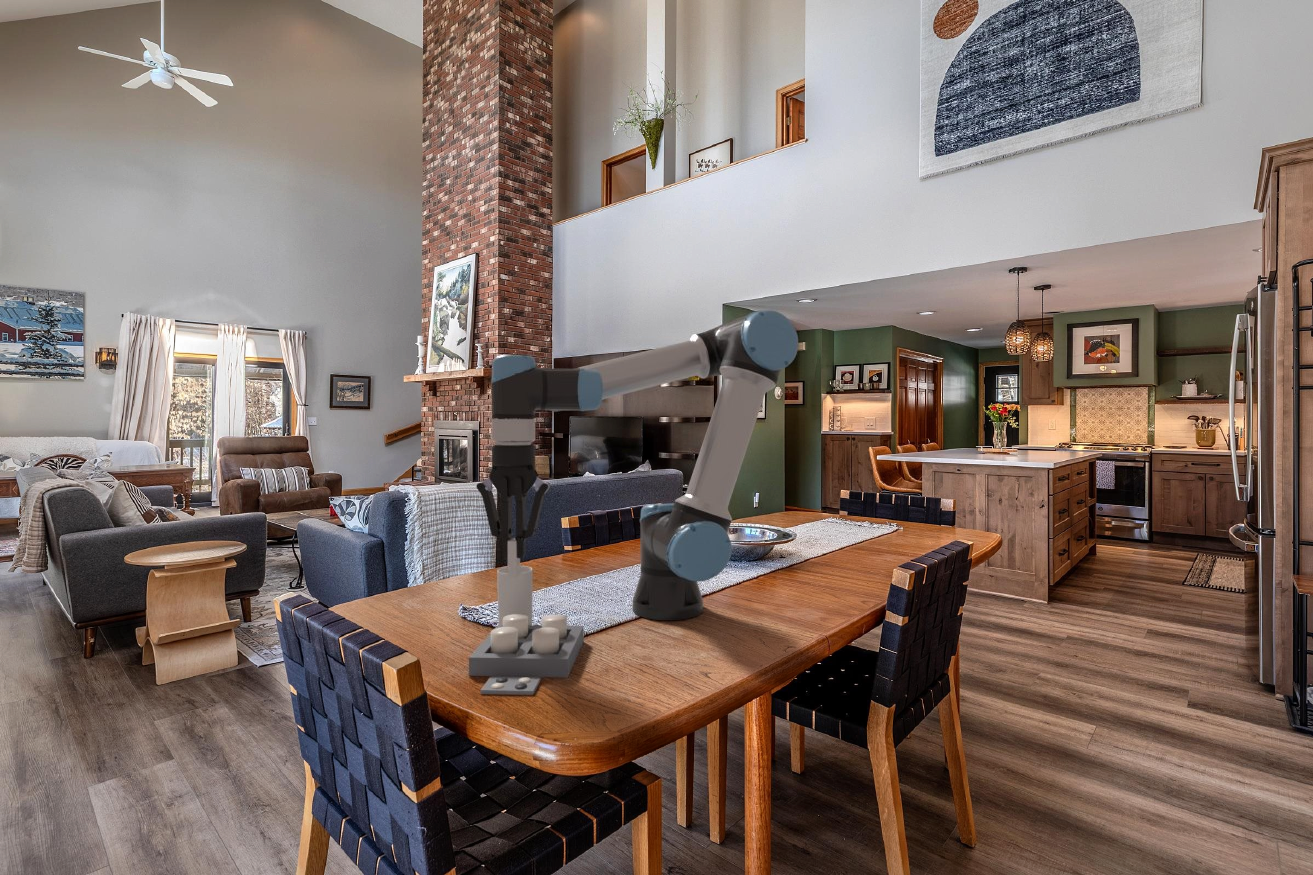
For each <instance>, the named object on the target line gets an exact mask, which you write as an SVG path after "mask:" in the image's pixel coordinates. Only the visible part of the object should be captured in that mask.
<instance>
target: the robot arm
mask: <svg viewBox="0 0 1313 875" xmlns="http://www.w3.org/2000/svg"><path fill="white" fill-rule="evenodd" d="M798 349H799V337H798V333H797V330H795V327H794V324H793V322H792V321H791V320H790V318H788V317H787V316H785V315H784V314H783V313H781V312H779V311H777V310H771V309H766V310H756V311H753V312H750V313H749V314H746V315H745V316H742V317H737V318H734V319H731V320H729V321H727V322H724V323H722V324H721V325H718V326H716V327H714V328H711V329H708V330H706V331H703V332H700V333H696V334H695V333H694V334H692V335H691V336H690V338H689V340H687V341H682V342H679V343H674V344H670V345H666V346H662V347H657V348H653V349H650V350H646V351H641V352H637V353H633V354H629V355H626V356H625V355H624V356H620V357H617V358H613V359H608V360H603V361H599V362H596V363H592V364H589V365H584V366H579V367H577V368H544V367H537V364H536V359H535V358H534V357H533V356H531V355H523V354H502V355H497V356H495V357H494V359H493V360H492V363H491V381H490V384H491V385H490V386H491V387H490V388H491V389H490V391H491V393H490V394H491V396H490V397H491V441H492V442H494V444H493V445H492V446H491V470H490V472H489V474H488V477H487V478H486V479H485V480H484V481H481V482H478V483H477V484H476V490H477V491H478V492H479V494H480V495H481V497H482V501H483V505H484V509H485V513H486V518H487V523H488V525H489V530H490V534H491V536H492V537H496V538H499V539H500V540H501V552H502V553H501V555H502V558H504V559H507V567H508V578H517V577H518V576H519V575H520V566H521V559H523V558H524V557H525V556H526V542H527V541H526V539H528V538H531V537H532V536H534V535H536V533H537V529H538V525H539V521H540V517H541V514H542V509H543V504H544V501H545V496H546V495H547V493H548V491H549V489H551V483H550V482H549V481H548V482H547V481H544V480H543V479H541V478H540V477H539V473H538V472H537V469H536V446H535V444H532V442H535V441H536V411H537V410H539V411H551V412H555V413H556V412H561V411H581V412H585V411H596V410H598V409H599V408H600V407H601V405H602V402H603V400H606V399H609V398H615V397H618V396H622V395H625V394H626V395H627V394H630V393H635V392H637V391H642V390H645V389H649V388H653V387H657V386H660V385H665V384H669V383H673V382H676V381H680V380H684V379H685V380H686V379H689V378H692V377H696V376H697V377H699V378H700V379H707V378H711V377H716V376H717V377H718V376H721V377H722V378H723V379H722V380H723V381H722V384H721V387H720V389H719V394H718V396H717V399H716V402H715V406H714V408H713V412H712V415H711V418H710V421H709V423H708V426H707V430H706V432H705V435H704V438H703V441H702V444H701V447H700V450H699V453H698V457H697V458H696V463H695V465H694V468H693V471H692V475H691V477H690V480H689V483H688V486H687V489H686V493H685V494H683V495H682V496H680V497H678V498H676V499H674V500H675V501H674V503H656V504H646V505H643V506H642V507H641V509H640V518H639V523H640V576H639V579H638V582H637V585H636V588H635V592H634V594H633V596H632V597H633V598H632V612H633V613H634V614H635V615H637V616H639V617H642V618H645V619H648V620H649V619H650V620H655V621H657V620H658V621H681V620H682V621H683V620H687V619H691V618H695V617H698V616H700V615H701V614H702V613H703V611H704V599H703V597H702V593H701V590H700V587H699V584H698V583H699V582H705V581H706V582H707V581H710V579H713V578H715V577H717V576H718V575H720V573H722V572H723V570H724V569H725V568H726V567H727V565H728V564H729V562H730V558H731V557H732V556H731V555H732V547H733V546H732V542H731V540H730V539H731V538H730V536H729V534H728V533H729V530H730V526H731V523H732V521H733V518H732V516H731V513H730V511H729V504H730V502H731V499H732V495H733V492H734V490H735V487H736V483H737V480H738V478H739V473H740V471H741V468H742V464H743V462H744V459H745V456H746V452H747V449H748V445H749V443H750V440H751V438H752V434H753V430H754V428H755V426H756V422H757V419H758V416H759V413H760V409H761V407H762V404H763V401H764V399H765V395H766V393H767V392H769V391H771V390H773V389H775V388H776V386H777V383H778V380H779V377H780V375H781V371H782V369H783V370H784V369H786V367H788V366H789V365H790V364H791V363H793V361H794V360H795V358H796V356H797V353H798ZM493 486H494V487H495V489H496V491H497V492H498V493H499V494H500V503H501V504H500V505H501V509H500V510H501V511H500V512H501V514H500V516H501V519H500V517H499V513H498V509H497V508H498V507H497V504H496V499H495V497H494V493H493V488H494V487H493ZM533 486H535V487H534V490H535V492H536V493H535V494H534V498H533V503H532V507H531V512H530V516H529V519H528V524H527V499H528V497H527V496H528V495H527V494H528V493H529V491H531V489H532V488H533ZM513 497H514V502H515V537H513V535H514V534H513V523H512V522H513V518H512V517H513V506H512V505H513ZM500 520H501V521H500Z"/></svg>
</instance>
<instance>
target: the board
mask: <svg viewBox="0 0 1313 875" xmlns="http://www.w3.org/2000/svg"><path fill="white" fill-rule="evenodd" d="M584 626H585V625H567V639H559V654H532V632H533V631H534V630H536V629H539V628H542V624H541V625H539V624H537V625H536V624H535V625H534V624H532V625H528V637H527V638H526V639H518V651H517V652H516V654H500V653H491V632H490V633H489V634H488V635H487V637H485V639H484V640H483V641H482V642H481V643H480V644H479V645H478V647H477V648H476V649H475V650H474V651H473V653H471V654H470V655H469V657H468V676H469V677H491V676H494V677H541V678H562V679H563V678H565V679H566V678H567V679H568V678H569V676H570V673H571V671H572V669H573V666H574V665H575V662H576V660H577V657H578V655H579V653H580V651H581V649H582V646H583V644H584V641H585V639H584V636H585V635H584V634H585V633H584V632H585V629H584ZM500 627H503V625H499V624H497V625H496V626H495V628H494V629H496V628H500Z"/></svg>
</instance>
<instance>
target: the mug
mask: <svg viewBox="0 0 1313 875" xmlns="http://www.w3.org/2000/svg"><path fill="white" fill-rule="evenodd" d="M533 571H534V570H533V568H532V567H531V566H527V565H520V575H519V576H518V577H517V578H508V566H503V567H501V568H498V569H497V571H496V573H497V576H496V577H497V578H496V579H497V581H496V584H497V611H498V612H497V613H498V625H503V617H505V616H508V615H512V614H524V615H527V616H528V625H533V584H534V583H533V582H534V581H533V580H534V579H533V578H534V577H533V575H534V574H533V573H534V572H533Z"/></svg>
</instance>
